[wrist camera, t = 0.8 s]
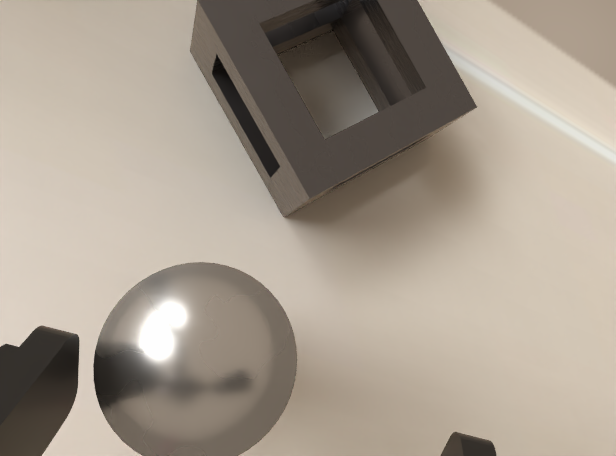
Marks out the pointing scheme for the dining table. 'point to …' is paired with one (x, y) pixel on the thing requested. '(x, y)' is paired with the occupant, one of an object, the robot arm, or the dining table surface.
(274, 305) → the metal can
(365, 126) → the collar stand
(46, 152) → the dining table surface
